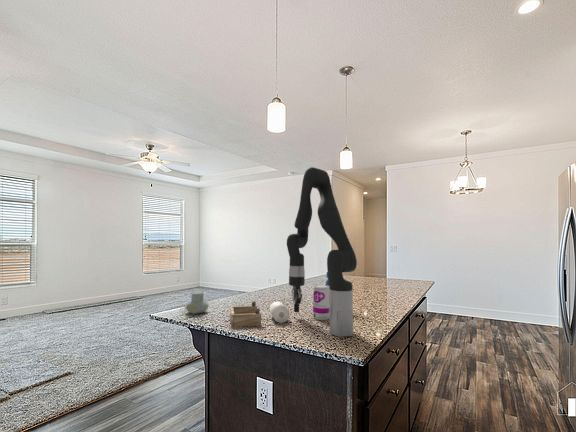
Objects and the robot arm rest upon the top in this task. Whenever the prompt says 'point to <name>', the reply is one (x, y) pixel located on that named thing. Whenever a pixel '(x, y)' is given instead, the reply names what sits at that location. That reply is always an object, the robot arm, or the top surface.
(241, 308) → the holder
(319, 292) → the supplement can
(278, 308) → the roll
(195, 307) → the air freshener
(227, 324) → the top surface
